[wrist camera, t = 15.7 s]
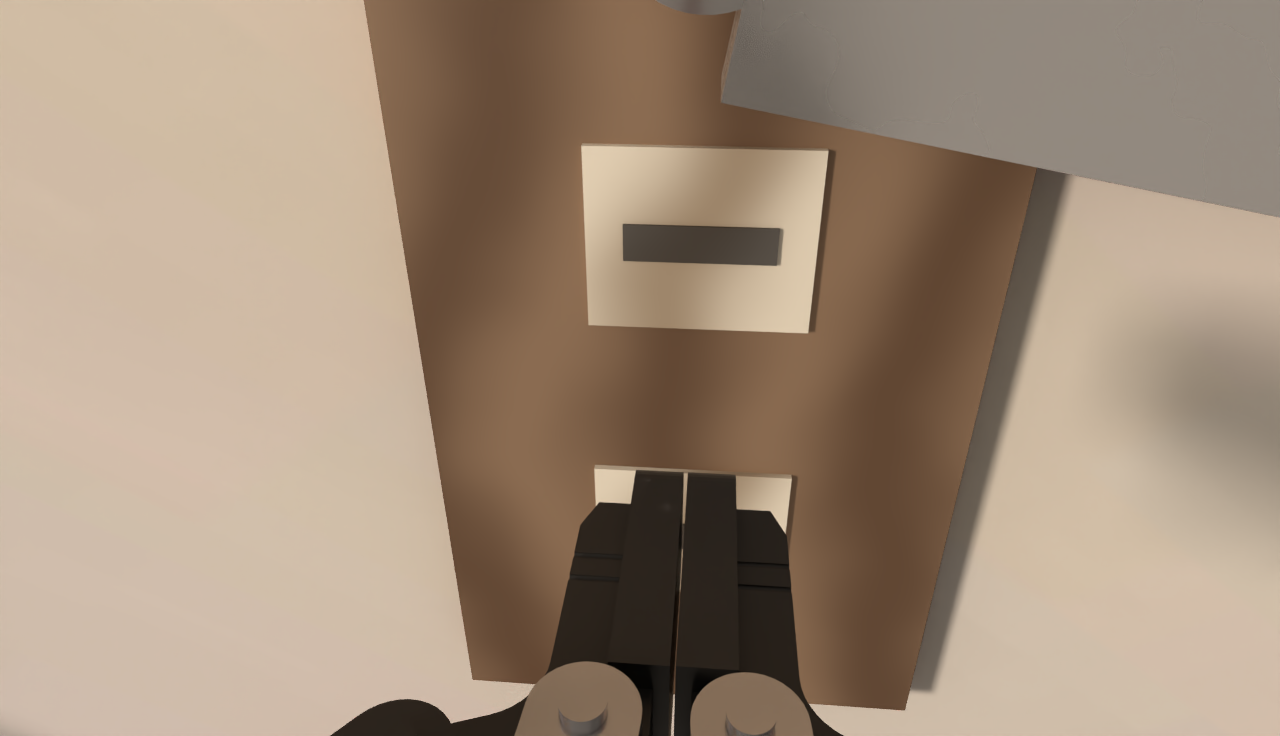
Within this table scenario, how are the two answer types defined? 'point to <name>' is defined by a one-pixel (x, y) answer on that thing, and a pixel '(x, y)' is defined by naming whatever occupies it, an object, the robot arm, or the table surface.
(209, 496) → the table surface
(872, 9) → the swing arm
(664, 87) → the label panel
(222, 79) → the table surface
